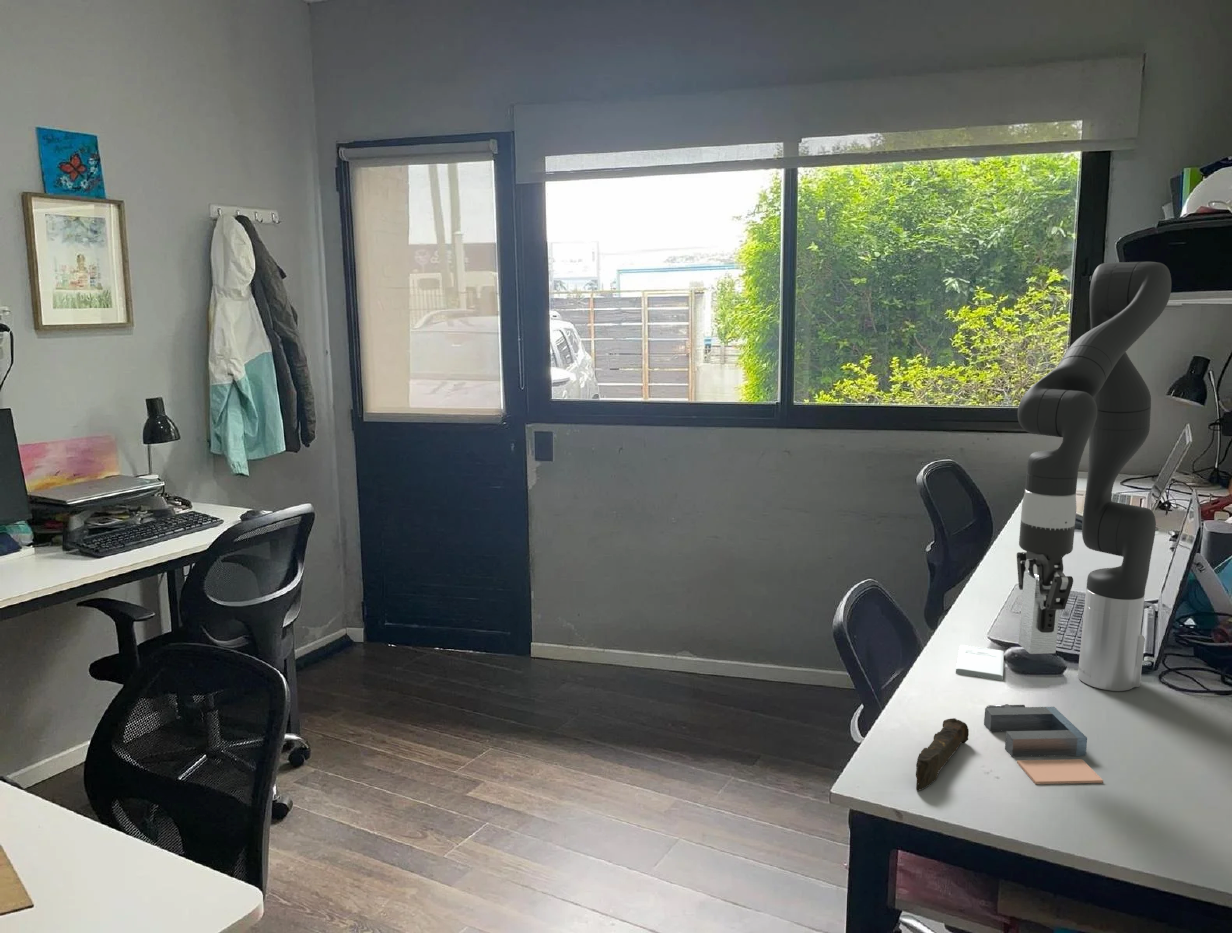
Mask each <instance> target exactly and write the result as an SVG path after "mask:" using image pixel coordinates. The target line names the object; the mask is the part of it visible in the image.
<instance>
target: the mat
mask: <svg viewBox="0 0 1232 933" xmlns="http://www.w3.org/2000/svg"><path fill="white" fill-rule="evenodd" d="M1016 764H1017V765H1018V766H1019V768H1020V769H1022V771H1023V772H1024V773H1025V774H1026V775H1027V776H1028V777H1029V778H1030V780H1031V781H1032V782H1033V783H1034V784H1035V785H1049V784H1050V785H1052V784H1053V785H1056V784H1057V785H1058V784H1059V785H1061V784H1102V783H1103V784H1104V779H1103V778H1102V777H1101V776H1100V775H1098V774H1097V772H1096V771H1094V769H1093V768H1092V767H1090V766H1089V765H1088V764H1087V762H1086V761H1084V760H1083V759H1081V758H1079V759H1078V758H1077V759H1028V760H1027V759H1025V760H1022V759H1020V760H1016Z"/></svg>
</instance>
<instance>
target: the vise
mask: <svg viewBox="0 0 1232 933" xmlns="http://www.w3.org/2000/svg"><path fill="white" fill-rule="evenodd" d="M983 726H984V727H985V728H986V729H987V730H988V732H990V733H1001V732H1002V733H1005V743H1004V744H1005V745H1004V750H1005V751H1006V752H1007V753H1008V755H1010V756H1011V757H1012V758H1022V757H1023V758H1026V757H1027V758H1028V757H1034V758H1035V757H1080V756H1081V757H1082V756H1086V754H1087V743H1088V736H1086V735H1085V734H1084V733H1083V732H1082V731H1081V730H1080V729H1079V728H1078V727H1076V725H1075V724H1074V723H1072V722H1071V721H1070V720H1069V719H1068V718H1067V717H1066V716H1065V715H1064V714H1062V713H1061V711H1060V710H1058V709H1057V708H1056V707H1055V706H1025V704H1008V703H1007V704H996V705H995V704H991V705H990V704H988V705H986V707H984V718H983Z"/></svg>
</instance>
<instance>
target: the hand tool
mask: <svg viewBox="0 0 1232 933" xmlns="http://www.w3.org/2000/svg"><path fill="white" fill-rule="evenodd" d="M969 731H970V730H969V726H968V724H967V723H966V722H964V721H962V720H959V719H957V718H956V717H955V718H954V717H953V718H947V719H944V720H943V722H942V728H941V730H940V731H937V733H934V735H933V740H932V742H931V743H930V744H929V745H928V746H927V747H924V748H923V749H922V750H921V751H920V753H919V754H918V756H917V758H916V759H917V760H916V764H915V766H916V768H915V769H916V770H915V777H916V791H922V790H924V789H925V788H928V787H929V786H930V785H931V784H932V783H934V782H935V781H937V779H938V774H939V772H940V771H941V769H942V768H943V767H944V766H945V765H946V764H947V763H948V762H949V760H950V758H951V757H952V756H953V755H954V753H955V752H956V751H958V748H959V747H960V745H961V744H965V743H967V741H969V736H970V735H969Z"/></svg>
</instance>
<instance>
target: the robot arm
mask: <svg viewBox="0 0 1232 933" xmlns="http://www.w3.org/2000/svg"><path fill="white" fill-rule="evenodd" d="M1092 273H1093V274H1092V276H1091V280H1090V285H1089V318H1090V319H1089V320H1090V322H1089V323H1090V330H1089V331H1086V332H1084V334H1082V335H1081V336H1080V337H1078V338H1077V339H1076V340H1075V341H1074V342H1073V343H1072V344H1071V345H1070V347H1068V349H1067V350H1066V351H1065V354H1063V357H1062V358H1061V360H1060V362H1059V363H1058V365H1057V366H1056V367H1055V368H1054V369H1051V371H1049V372H1048V373H1047V374H1045V375H1044V376H1043V377H1042V378H1040V379H1039V380H1038V381H1037V382H1035V383H1034V384H1032V386H1030V388H1029V389H1027V391H1026V392H1025V393H1024V395H1023V396H1022V398H1021V399H1020V402H1019V404H1018V408H1017V420H1018V424H1019V425H1020V427H1021V428H1022V429H1023V430H1024V431H1025V432H1027V433H1030V434H1033V435H1038V436H1046V437H1047V436H1048V437H1058V438H1062V440H1061V441H1062V443H1061V444H1060V445H1059V447H1058V448H1055V449H1048V450H1047V449H1045V450H1038V451H1037V450H1036V451H1034V452H1032V453H1031V454H1030V455H1029V456H1028V459H1027V463H1026V474H1025V475H1026V476H1025V484H1024V485H1025V487H1024V495H1023V498H1022V502H1021V512H1020V514H1021V515H1020V526H1019V537H1018V545H1019V548H1020V549H1021V550H1024V551H1022V552H1016V568H1017V580H1018V588H1019V590H1021V591H1023V581H1024V572H1028V573H1033V574H1034V575H1035V578H1036V579H1038V589H1037V592H1038V594H1040V611H1039V622H1038V630H1039V631H1040V632H1042V633H1050V632H1053V631H1054V625H1055V614H1056V610H1059V611H1060V610H1062V611H1063V610H1066V607H1067V604H1068V601H1069V598H1070V594H1071V591H1072V587H1073V586H1074V578H1073V576H1071V575H1070V576H1069V575H1068V576H1066V575H1065V573H1064V560H1063V558H1064V557H1065V556H1066V555H1069V554H1071V553H1072V551H1073V550H1074V540H1075V531H1076V530H1075V529H1076V520H1077V486H1078V477H1079V476H1078V475H1079V469H1080V464H1081V460H1082V457H1083V454H1084V451H1085V448H1086V445H1087V443H1088V469H1087V476H1086V477H1087V479H1086V487H1085V488H1086V489H1085V495H1084V496H1085V497H1084V505H1083V509H1082V510H1083V512H1082V520H1081V522H1082V523H1081V535H1082V537H1081V538H1082V540H1083V544H1084V546H1085V547H1086V548H1087V549H1089V550H1092V551H1096V552H1098V553H1102V554H1103V553H1104V554H1109V555H1113V556H1119V557H1123V559H1122V562H1121V565H1119V566H1114V567H1107V568H1099V569H1094V570H1092V571H1090V572H1089V573H1088V575H1087V580H1086V588H1085V596H1084V597H1085V598H1084V607H1083V608H1084V609H1083V616H1082V617H1083V619H1082V629H1081V638H1080V639H1081V640H1080V648H1079V649H1080V650H1079V657H1078V658H1079V659H1078V666H1077V667H1078V668H1077V670H1078V671H1077V678H1078V679H1079V680H1080V681H1082V682H1083V683H1084V684H1086V685H1088V686H1091V687H1094V688H1096V689H1100V690H1103V691H1104V690H1105V691H1112V692H1124V691H1129V690H1132V689H1134V688H1140V686H1141V678H1142V677H1141V676H1142V667H1143V659H1144V652H1145V642H1146V638H1145V636H1144V635H1142V633H1141V632H1142V631H1141V630H1142V621H1143V612H1144V602H1145V593H1146V587H1147V583H1148V579H1149V578H1148V577H1149V573H1150V564H1151V559H1152V554H1153V548H1154V547H1153V546H1154V542H1155V536H1156V529H1157V528H1156V527H1157V522H1156V517H1155V514H1154V512H1153V510H1151V509H1150V508H1148V507H1145V506H1139V505H1132V504H1127V503H1120V502H1115V501H1113V500H1112V499H1113V498H1112V494H1113V487H1114V484H1115V481H1116V479H1117V477H1118V475H1119V474H1120V473H1121V471H1122V470H1123V469H1124V468H1125V466H1126V465H1127V463H1128V462H1130V460H1131V459H1132V458H1133V457H1134V456H1135V455H1136V453H1137V452H1138V451H1139V450H1140V449H1141V447H1142V446H1143V445H1144V443H1145V442H1146V440H1147V439H1148V437H1149V434H1150V428H1151V415H1152V414H1151V410H1152V396H1151V395H1152V394H1151V391H1150V389H1149V387H1148V386H1147V383H1146V382H1145V380H1144V378H1143V377H1142V375H1141V374H1140V372H1139V370H1138V369H1137V367H1136V366H1135V364H1134V363H1133V361H1131V359H1130V357H1129V355H1128V354H1127V351H1128V349H1130V348H1131V346H1133V345H1134V344H1135V343H1136V341H1138V340H1139V339H1140V338H1141V336H1143V335H1144V334H1145V333H1146V332H1147V330H1148V329H1149V328H1150V327H1151V326H1152V325H1153V324H1154V323H1155V322H1156V321H1157V320H1158V318H1159V317H1160V316H1161V315H1162V313H1163V312H1164V311H1165V309H1166V307H1167V305H1168V303H1169V300H1170V297H1171V292H1172V277H1171V276H1172V275H1171V273H1170V269H1169V267H1168V266H1167V265H1165V264H1164V263H1162V262H1159V261H1158V262H1156V261H1129V262H1128V261H1127V262H1125V261H1124V262H1123V261H1122V262H1121V261H1120V262H1119V261H1118V262H1104V263H1103V262H1102V263H1101V264H1099V265H1098V266H1097V267H1096V268H1095V269H1094V272H1092ZM1043 585H1044V586H1051V588H1050V589H1044V588H1043ZM1047 594H1049V595H1048V598H1047V601H1046V595H1047ZM1059 598H1060V601H1059Z"/></svg>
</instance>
